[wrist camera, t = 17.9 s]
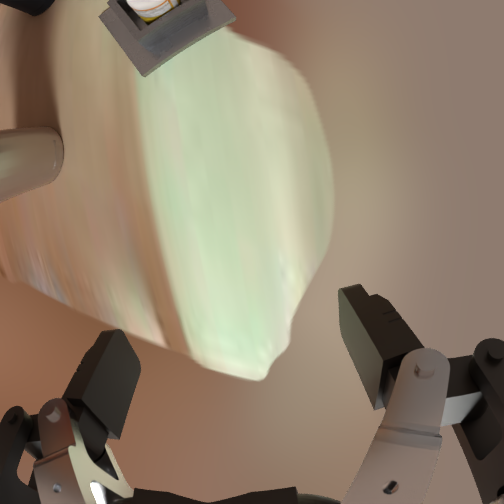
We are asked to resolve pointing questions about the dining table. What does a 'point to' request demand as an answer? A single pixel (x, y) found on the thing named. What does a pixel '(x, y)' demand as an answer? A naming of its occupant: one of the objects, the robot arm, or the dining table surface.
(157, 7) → the supplement bottle
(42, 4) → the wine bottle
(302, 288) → the dining table surface
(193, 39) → the square socket
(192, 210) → the dining table surface
